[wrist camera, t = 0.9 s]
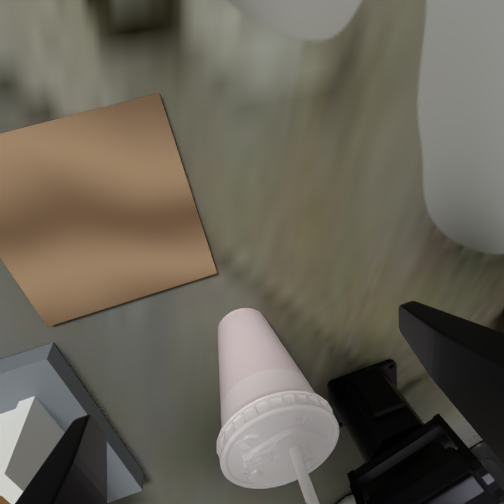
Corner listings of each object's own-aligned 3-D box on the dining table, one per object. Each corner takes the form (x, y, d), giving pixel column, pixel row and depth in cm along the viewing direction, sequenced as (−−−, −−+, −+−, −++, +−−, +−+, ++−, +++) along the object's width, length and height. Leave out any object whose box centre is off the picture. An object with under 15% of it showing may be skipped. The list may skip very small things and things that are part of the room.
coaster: (216, 270, 23) (217, 273, 22) (49, 322, 22) (47, 326, 21) (159, 92, 17) (159, 93, 17) (-67, 150, 16) (-72, 152, 16)
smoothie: (284, 350, 28) (381, 564, 16) (205, 369, 27) (244, 615, 14) (281, 284, 25) (399, 485, 12) (192, 302, 24) (226, 542, 11)
